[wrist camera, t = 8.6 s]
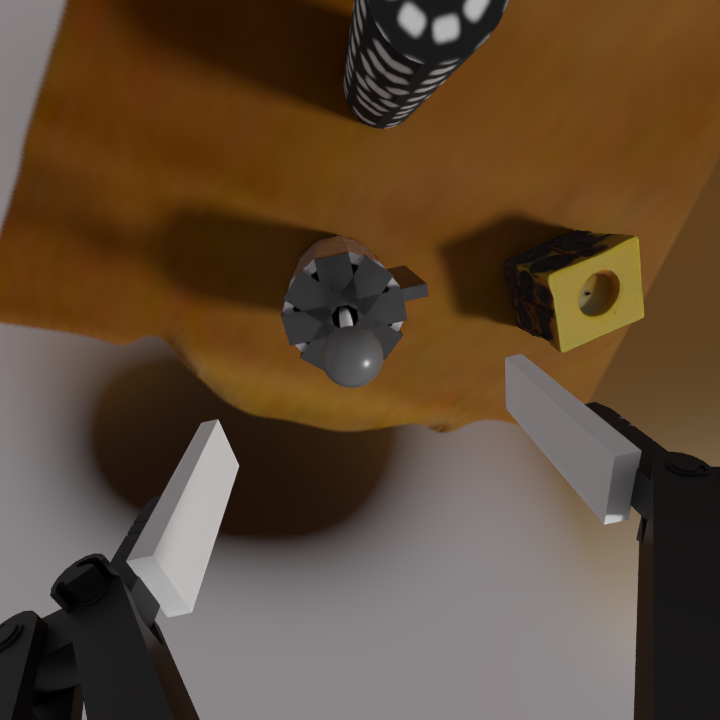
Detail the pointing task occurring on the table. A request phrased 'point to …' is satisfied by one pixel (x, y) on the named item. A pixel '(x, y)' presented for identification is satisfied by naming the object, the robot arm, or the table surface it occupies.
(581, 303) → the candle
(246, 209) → the table surface
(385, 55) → the spotted tube
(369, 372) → the grey ball-topped rod
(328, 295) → the grey cylinder
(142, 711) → the robot arm
